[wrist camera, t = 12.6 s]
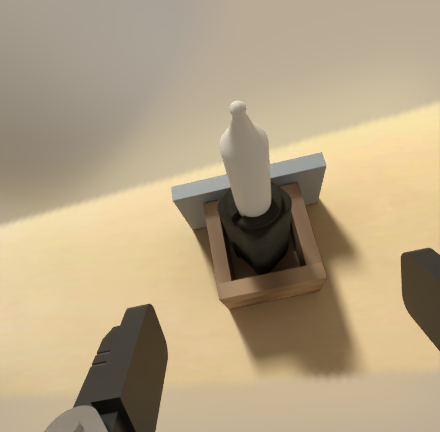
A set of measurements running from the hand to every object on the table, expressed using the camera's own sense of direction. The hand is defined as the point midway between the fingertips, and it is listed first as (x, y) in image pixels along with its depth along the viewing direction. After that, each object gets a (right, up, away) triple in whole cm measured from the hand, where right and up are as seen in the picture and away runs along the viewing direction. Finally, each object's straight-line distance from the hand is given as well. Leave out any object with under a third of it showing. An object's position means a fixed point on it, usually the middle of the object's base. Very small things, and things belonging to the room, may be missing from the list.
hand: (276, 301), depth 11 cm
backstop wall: (+2, +3, +33) cm, 33 cm away
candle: (+3, -1, +29) cm, 29 cm away
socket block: (+3, -2, +30) cm, 31 cm away
